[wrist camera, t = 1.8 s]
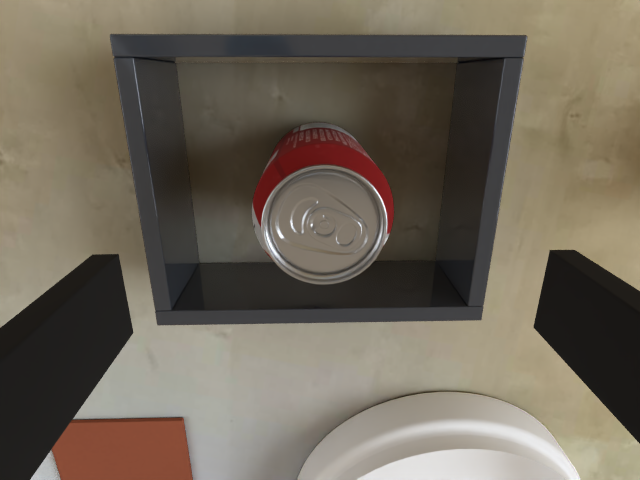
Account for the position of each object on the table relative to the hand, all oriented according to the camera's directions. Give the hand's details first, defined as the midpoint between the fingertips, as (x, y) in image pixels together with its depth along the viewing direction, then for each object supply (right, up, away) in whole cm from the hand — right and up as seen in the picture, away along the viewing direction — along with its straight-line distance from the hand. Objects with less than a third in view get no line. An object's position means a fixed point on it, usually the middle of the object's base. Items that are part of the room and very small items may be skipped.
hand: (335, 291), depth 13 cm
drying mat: (-19, -23, +27) cm, 40 cm away
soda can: (-1, +7, +16) cm, 18 cm away
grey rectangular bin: (-1, +7, +16) cm, 18 cm away
